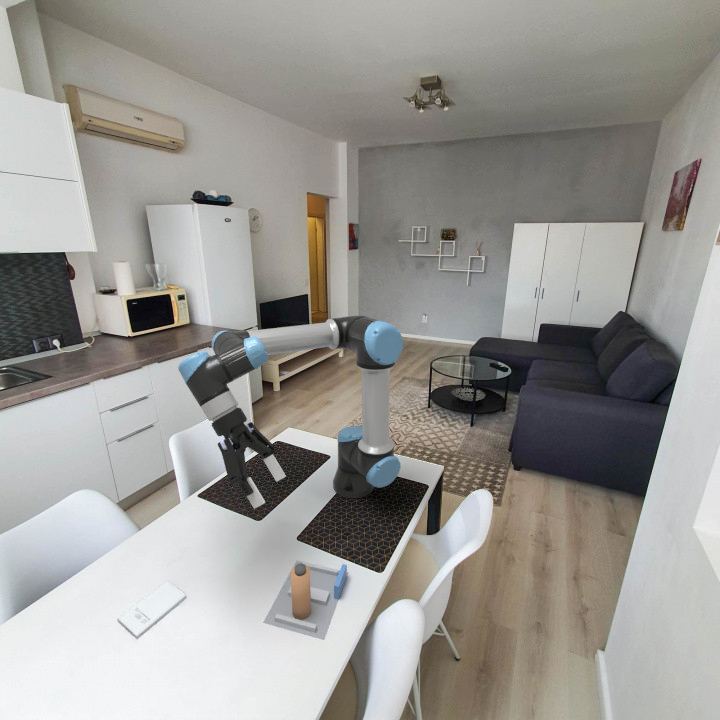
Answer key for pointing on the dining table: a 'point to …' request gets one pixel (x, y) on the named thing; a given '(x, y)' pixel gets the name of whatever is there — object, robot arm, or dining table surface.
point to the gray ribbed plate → (323, 601)
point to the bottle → (301, 591)
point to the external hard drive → (151, 609)
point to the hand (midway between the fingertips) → (271, 491)
